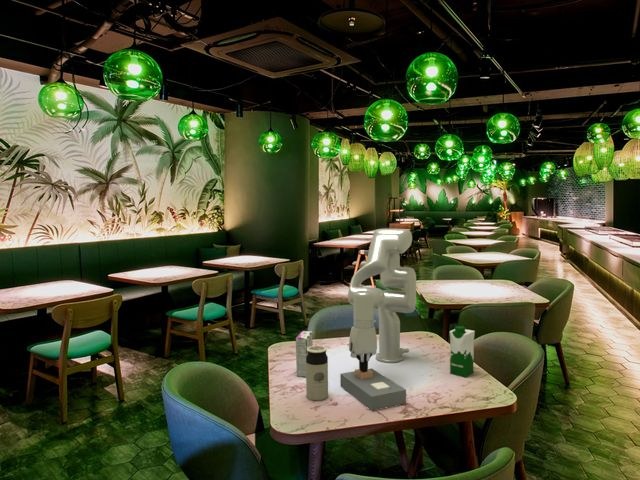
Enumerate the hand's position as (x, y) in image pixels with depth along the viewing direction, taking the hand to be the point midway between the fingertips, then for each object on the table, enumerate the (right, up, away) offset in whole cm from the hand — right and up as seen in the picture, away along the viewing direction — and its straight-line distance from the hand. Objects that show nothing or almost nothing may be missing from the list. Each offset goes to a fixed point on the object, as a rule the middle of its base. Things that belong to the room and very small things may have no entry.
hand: (363, 370), depth 172 cm
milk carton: (+43, -6, +16) cm, 46 cm away
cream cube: (+5, -7, -10) cm, 13 cm away
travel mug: (-18, -8, -6) cm, 20 cm away
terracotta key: (0, -5, +1) cm, 5 cm away
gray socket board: (+3, -7, -5) cm, 9 cm away
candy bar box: (-23, -6, +19) cm, 30 cm away
